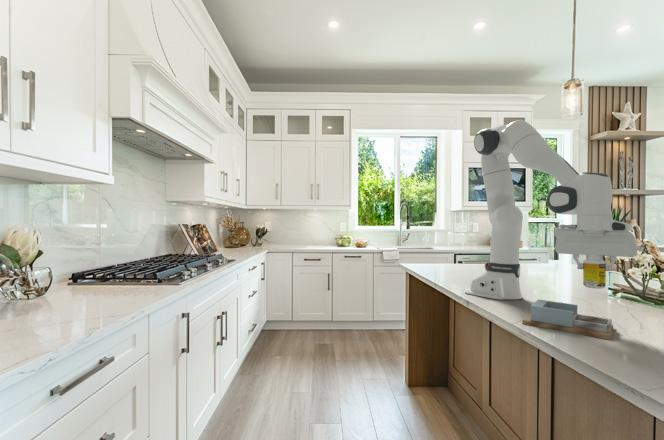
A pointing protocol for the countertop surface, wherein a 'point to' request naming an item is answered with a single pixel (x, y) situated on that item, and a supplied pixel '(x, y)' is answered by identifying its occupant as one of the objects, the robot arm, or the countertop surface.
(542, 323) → the board
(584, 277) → the supplement bottle
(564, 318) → the box
